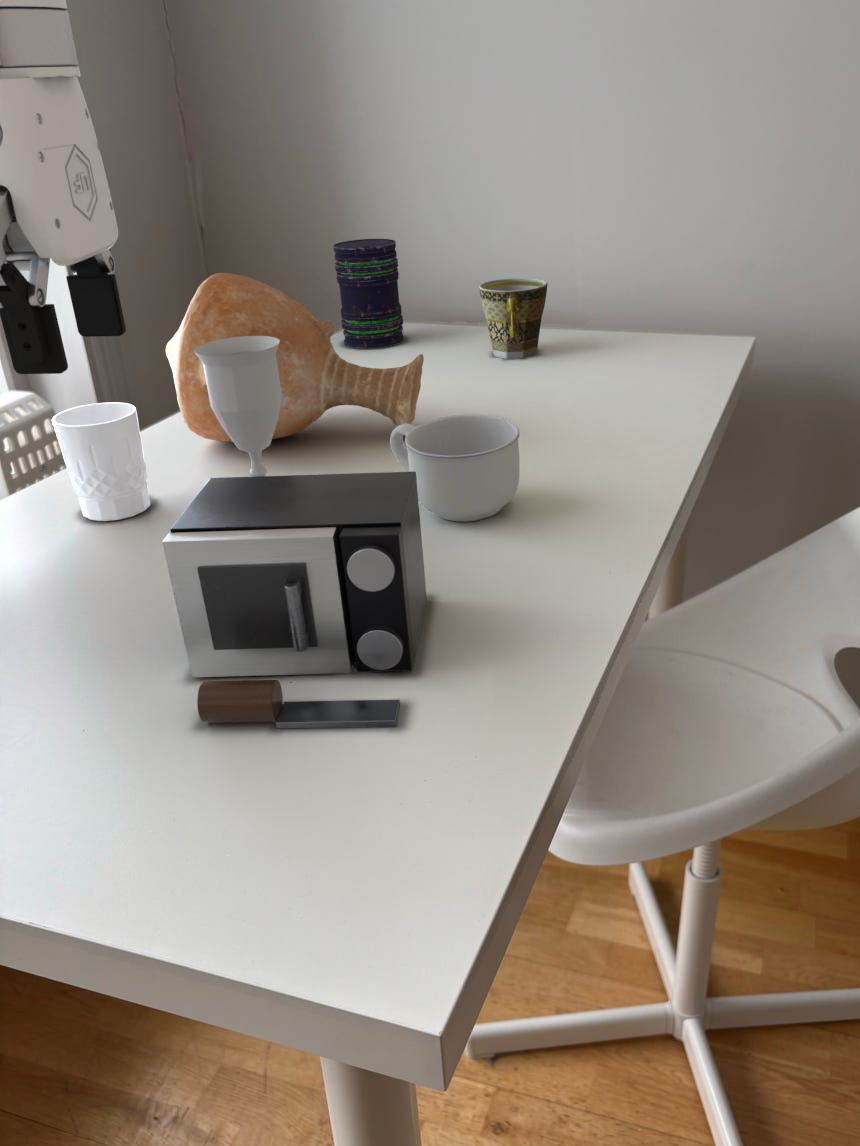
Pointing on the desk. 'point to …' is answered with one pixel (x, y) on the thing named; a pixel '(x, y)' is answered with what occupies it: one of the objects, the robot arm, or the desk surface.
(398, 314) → the storage jar
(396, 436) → the teacup
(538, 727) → the desk surface
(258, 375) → the chalice
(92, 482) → the white cup
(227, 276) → the jug
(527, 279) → the ceramic cup
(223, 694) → the knife
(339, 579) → the microwave door
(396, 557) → the microwave
